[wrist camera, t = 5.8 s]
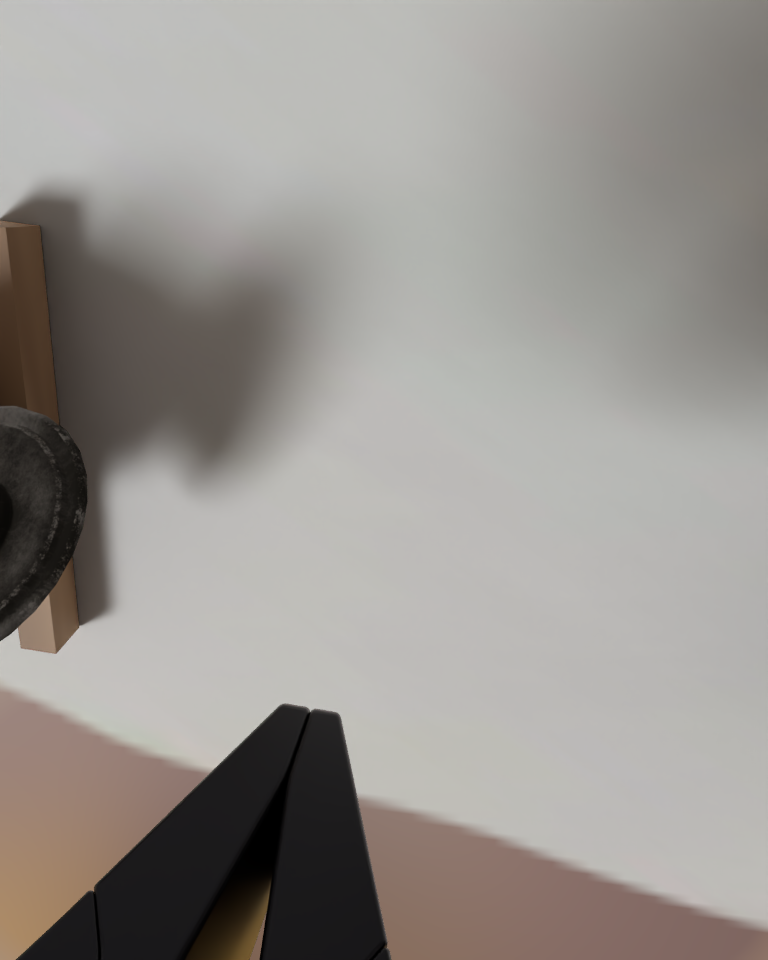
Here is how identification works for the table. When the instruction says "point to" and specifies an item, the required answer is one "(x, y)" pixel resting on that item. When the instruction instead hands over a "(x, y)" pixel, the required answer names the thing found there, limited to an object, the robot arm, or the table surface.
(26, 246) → the kerb
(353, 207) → the table surface
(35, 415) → the stone baluster finial
